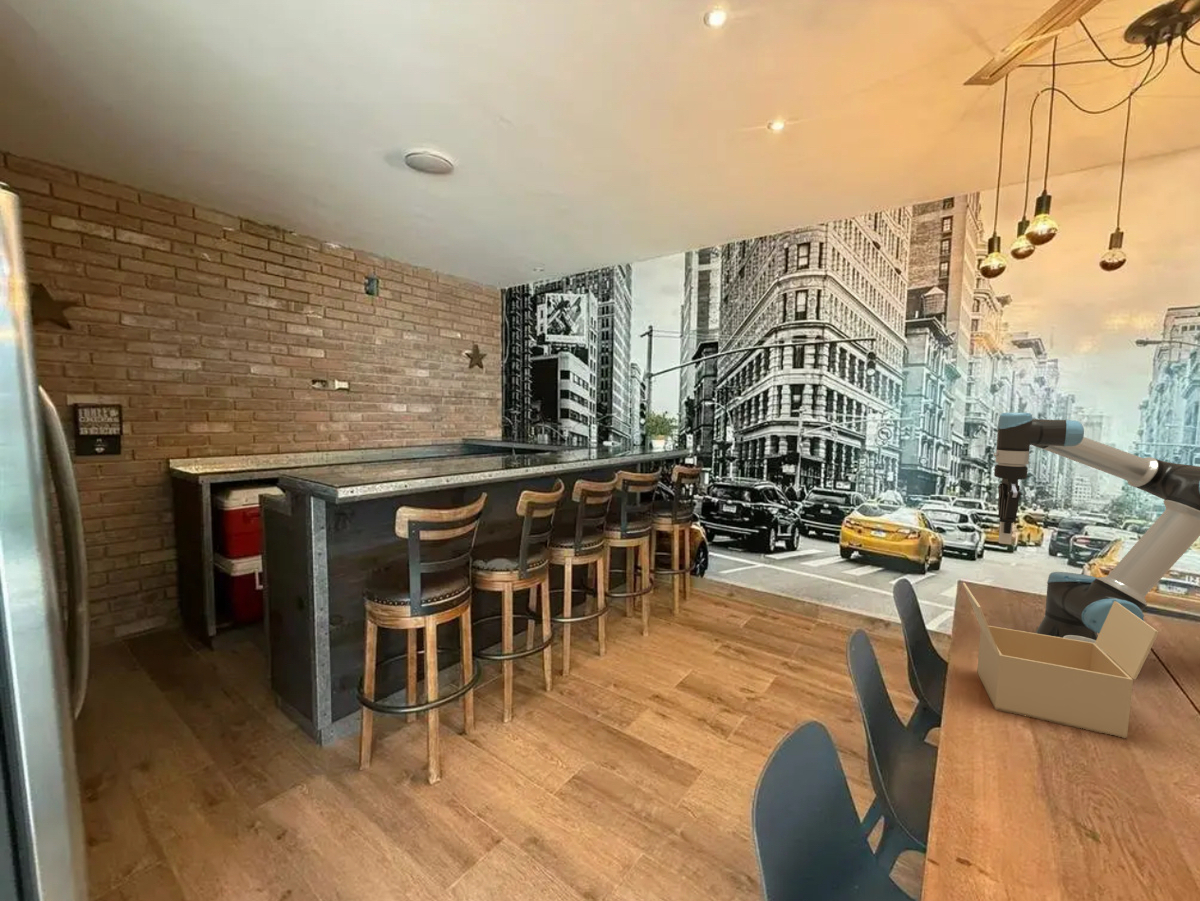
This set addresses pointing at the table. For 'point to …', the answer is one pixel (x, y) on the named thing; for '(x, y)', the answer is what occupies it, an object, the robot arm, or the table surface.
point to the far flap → (980, 618)
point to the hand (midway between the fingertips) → (1004, 543)
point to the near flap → (1126, 639)
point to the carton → (1055, 680)
